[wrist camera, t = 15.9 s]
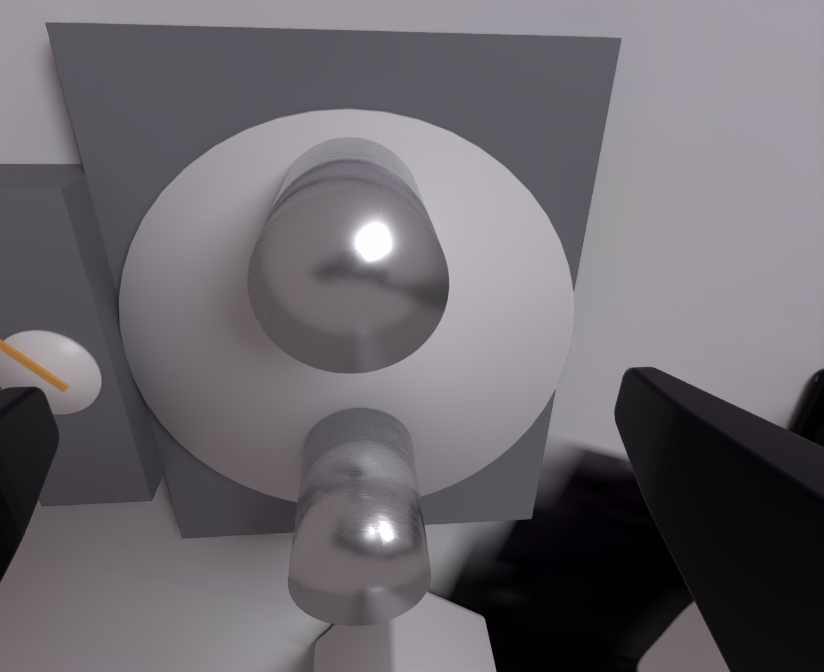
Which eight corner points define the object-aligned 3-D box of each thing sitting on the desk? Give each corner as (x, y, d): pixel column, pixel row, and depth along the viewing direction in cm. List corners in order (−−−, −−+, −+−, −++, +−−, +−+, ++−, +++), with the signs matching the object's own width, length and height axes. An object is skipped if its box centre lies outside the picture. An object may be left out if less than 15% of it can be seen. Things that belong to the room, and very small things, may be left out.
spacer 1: (419, 273, 18) (444, 370, 13) (286, 275, 18) (259, 376, 13) (423, 137, 16) (455, 189, 11) (273, 136, 16) (233, 189, 11)
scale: (523, 496, 27) (543, 552, 24) (100, 518, 25) (68, 582, 22) (602, 37, 17) (652, 39, 14) (-81, 18, 15) (-180, 17, 13)
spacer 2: (412, 488, 23) (428, 620, 18) (307, 493, 23) (294, 630, 18) (414, 405, 21) (434, 529, 16) (299, 409, 21) (281, 537, 16)
